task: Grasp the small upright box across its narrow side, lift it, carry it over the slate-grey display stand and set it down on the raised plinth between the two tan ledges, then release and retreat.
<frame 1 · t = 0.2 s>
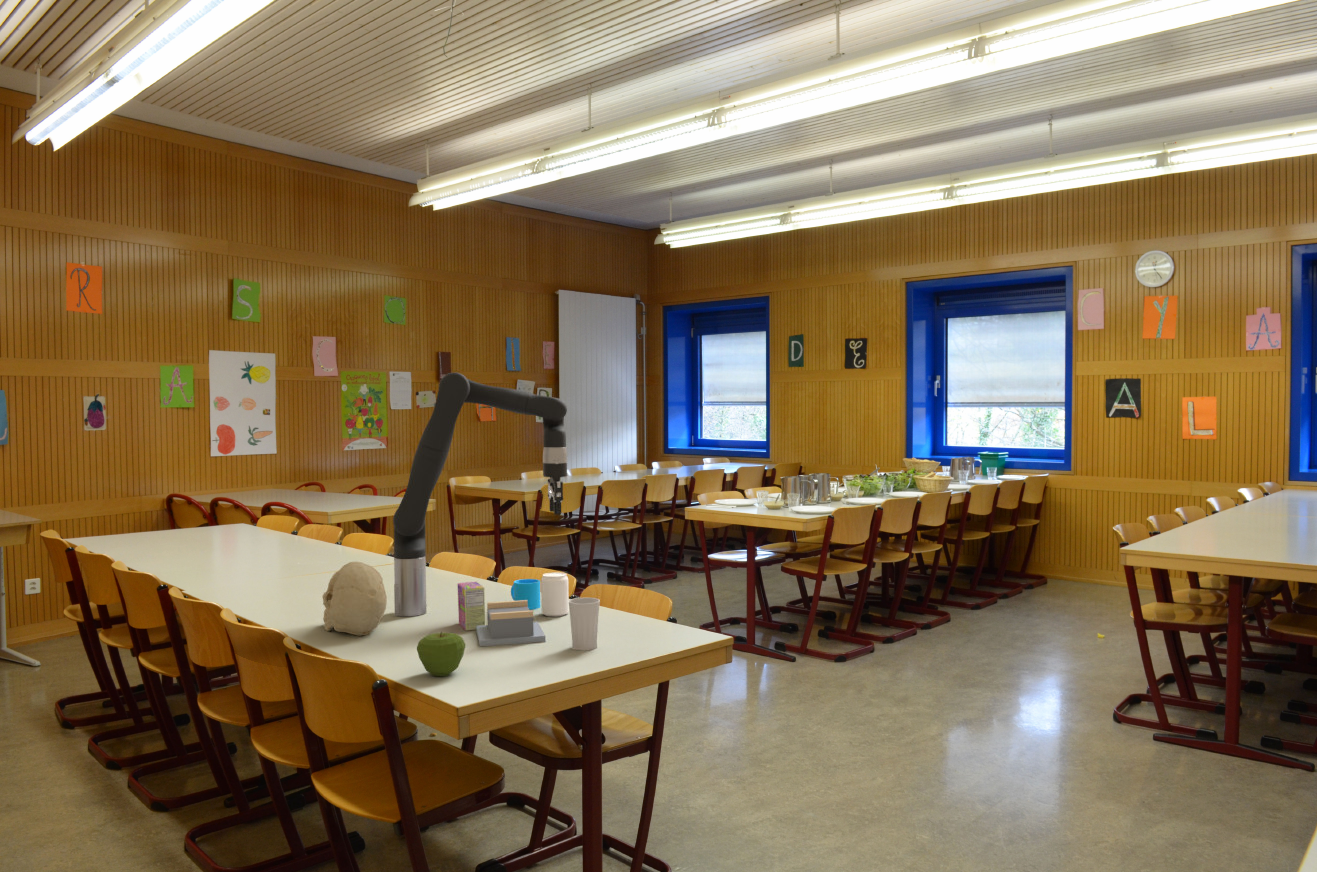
hand: (555, 512, 278), 29 cm above the table, fingers open, 8 cm apart
cup: (584, 647, 227), on the table
display stand: (510, 636, 239), on the table
box: (471, 626, 251), on the table
beverage can: (555, 614, 265), on the table
mug: (523, 607, 277), on the table
apple: (441, 674, 204), on the table
skull: (351, 631, 247), on the table
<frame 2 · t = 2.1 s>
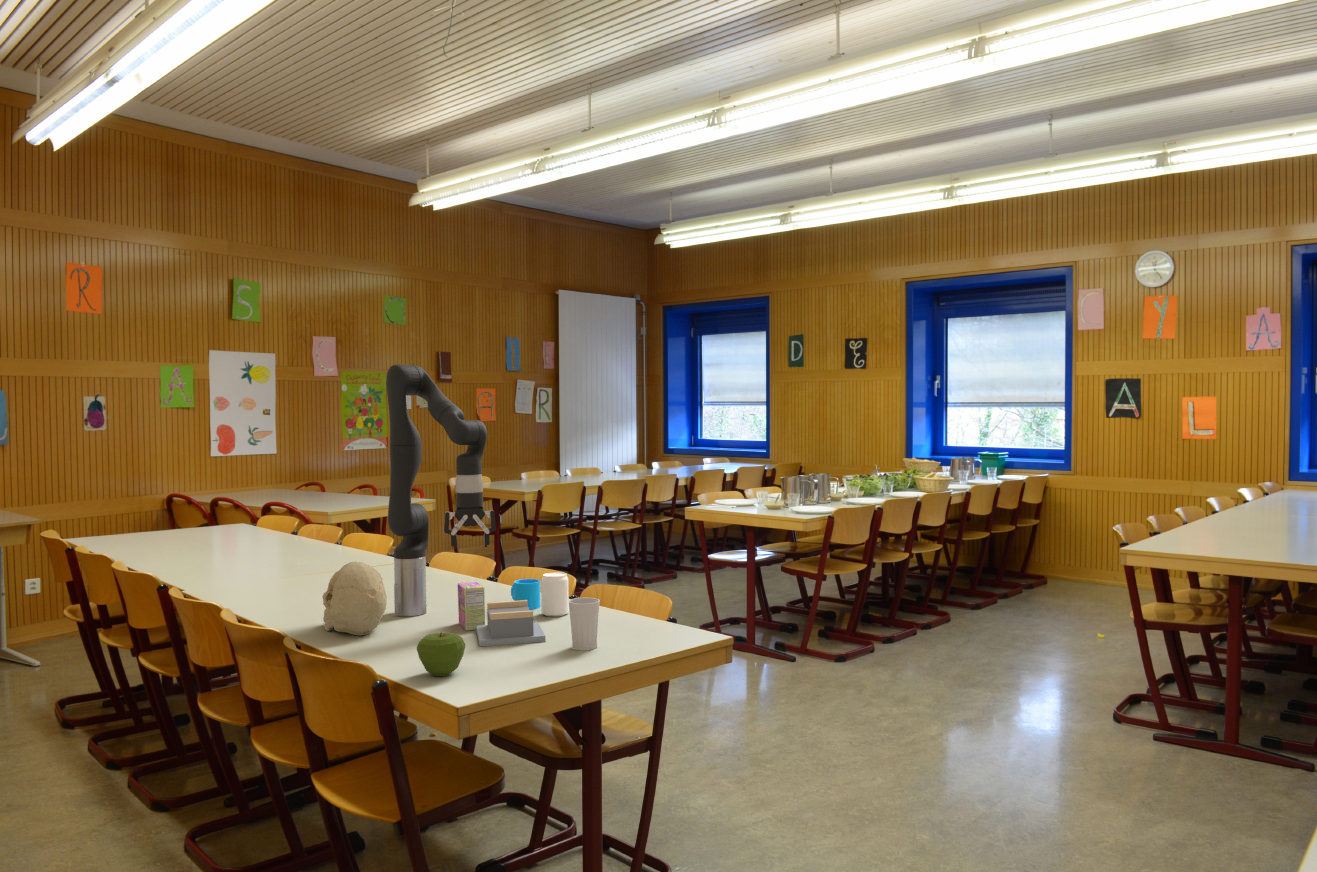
hand: (470, 547, 251), 22 cm above the table, fingers open, 8 cm apart
nothing on the table moved.
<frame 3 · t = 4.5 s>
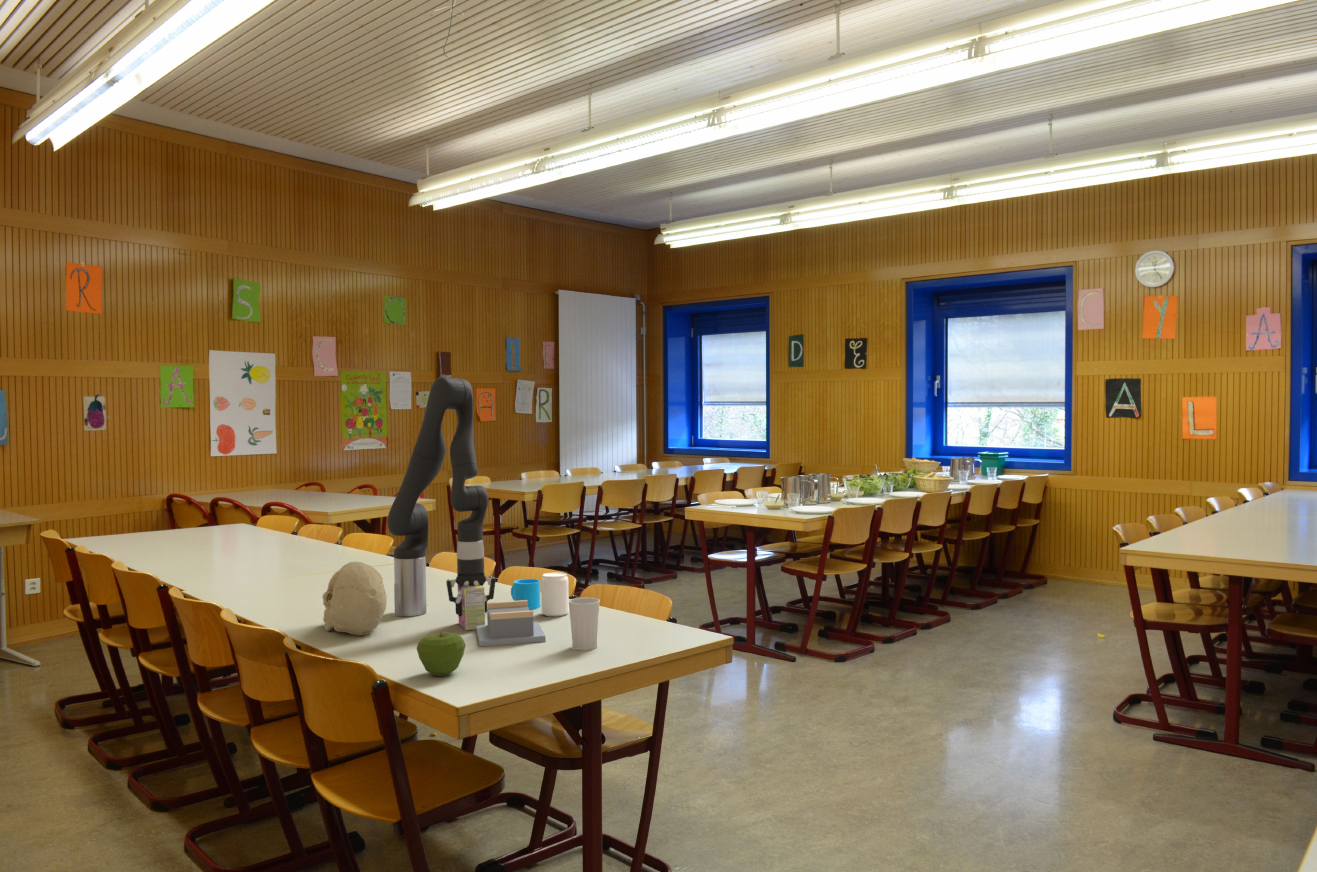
hand: (471, 614, 251), 3 cm above the table, fingers closed on box, 6 cm apart
box: (471, 626, 251), on the table, touching gripper
everything else where it was.
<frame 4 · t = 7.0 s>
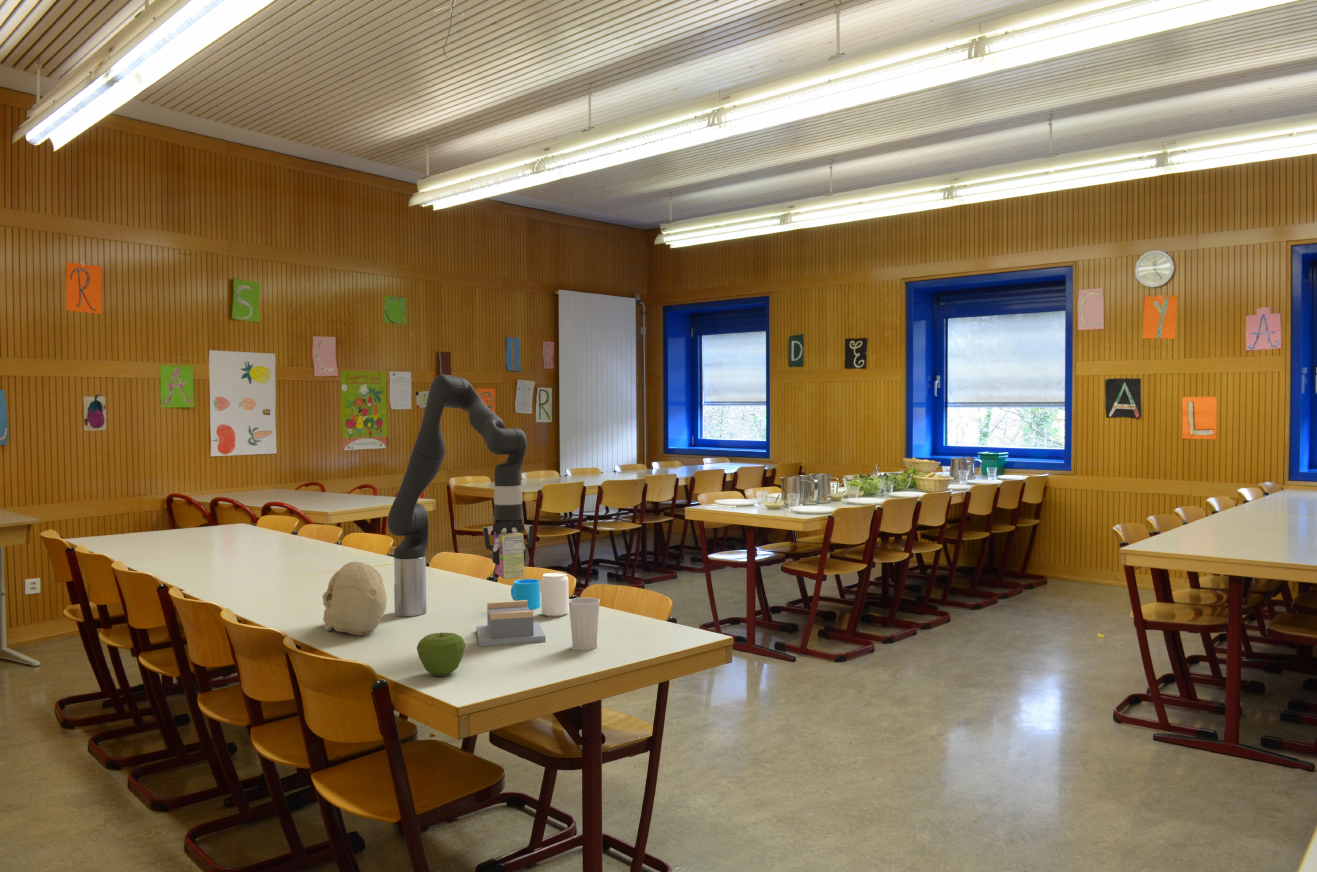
hand: (509, 563, 239), 20 cm above the table, fingers closed on box, 6 cm apart
box: (509, 576, 239), point 16 cm above the table, touching gripper
everything else where it was.
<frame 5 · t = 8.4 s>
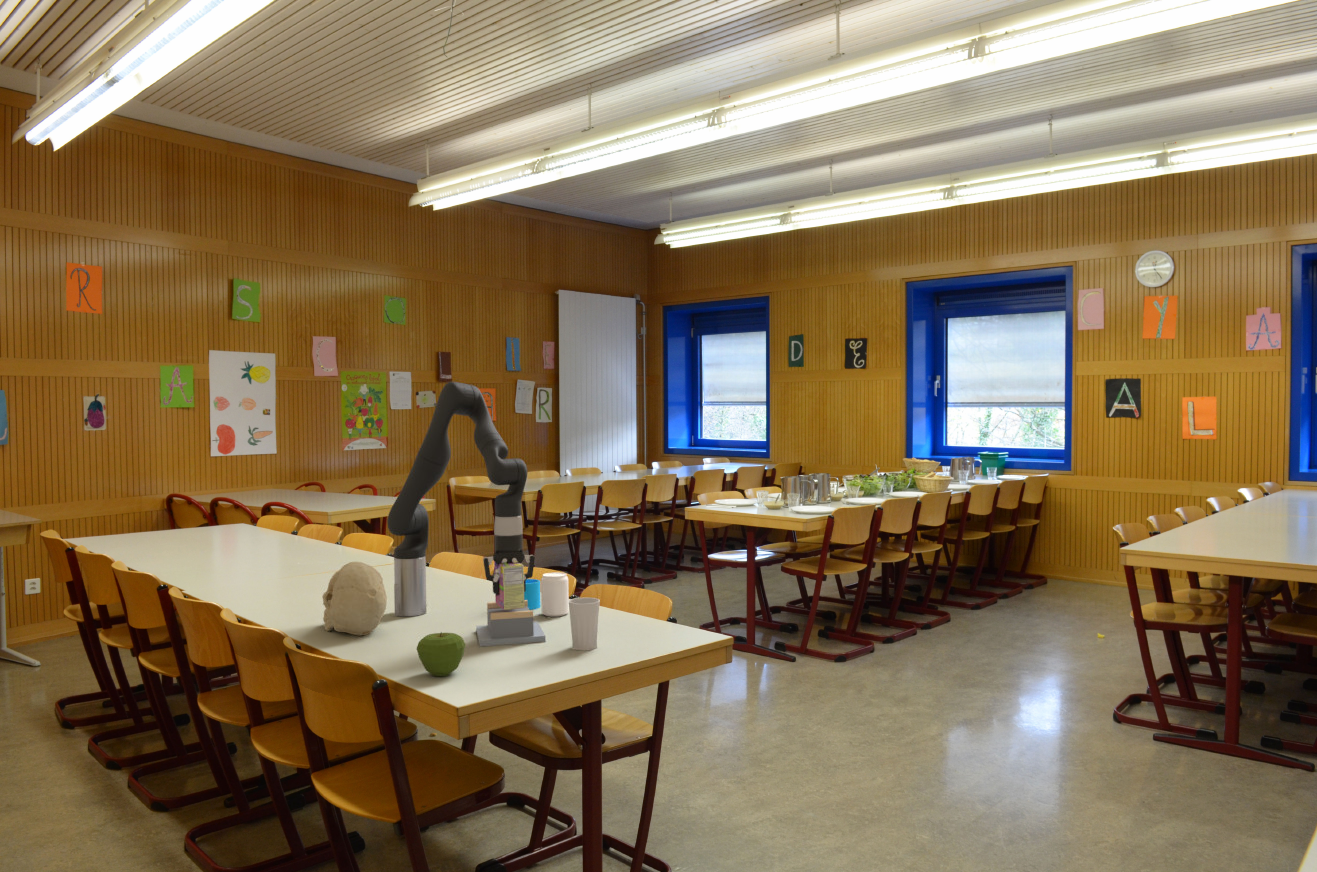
hand: (509, 594, 239), 11 cm above the table, fingers closed on box, 6 cm apart
box: (509, 606, 239), point 8 cm above the table, touching gripper
everything else where it was.
when the fingers open (11 cm above the table, at t = 9.5 s): box drops 1 cm, resting on display stand.
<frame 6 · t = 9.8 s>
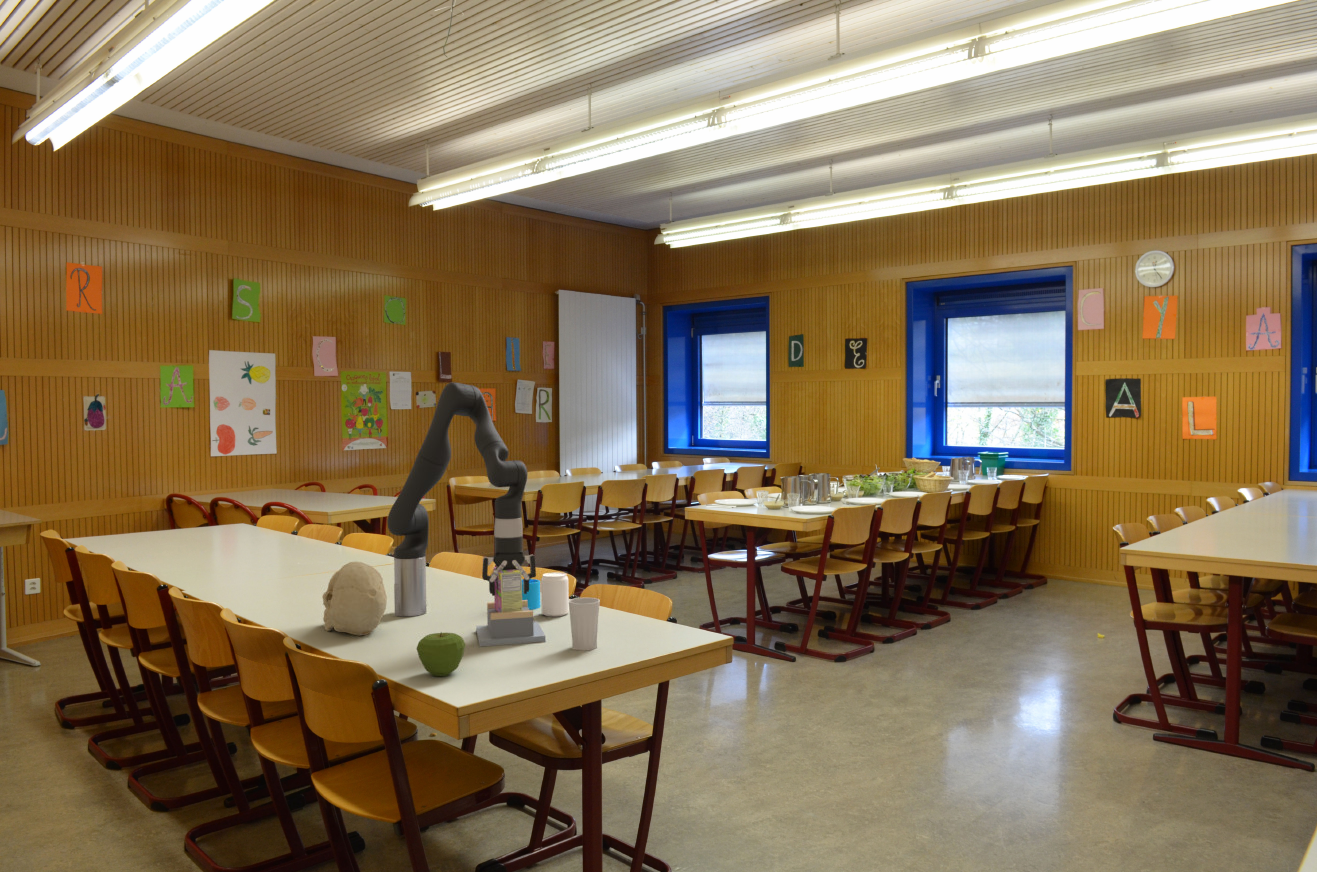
hand: (509, 594, 239), 11 cm above the table, fingers open, 8 cm apart
box: (508, 613, 239), point 6 cm above the table, touching display stand
everything else where it was.
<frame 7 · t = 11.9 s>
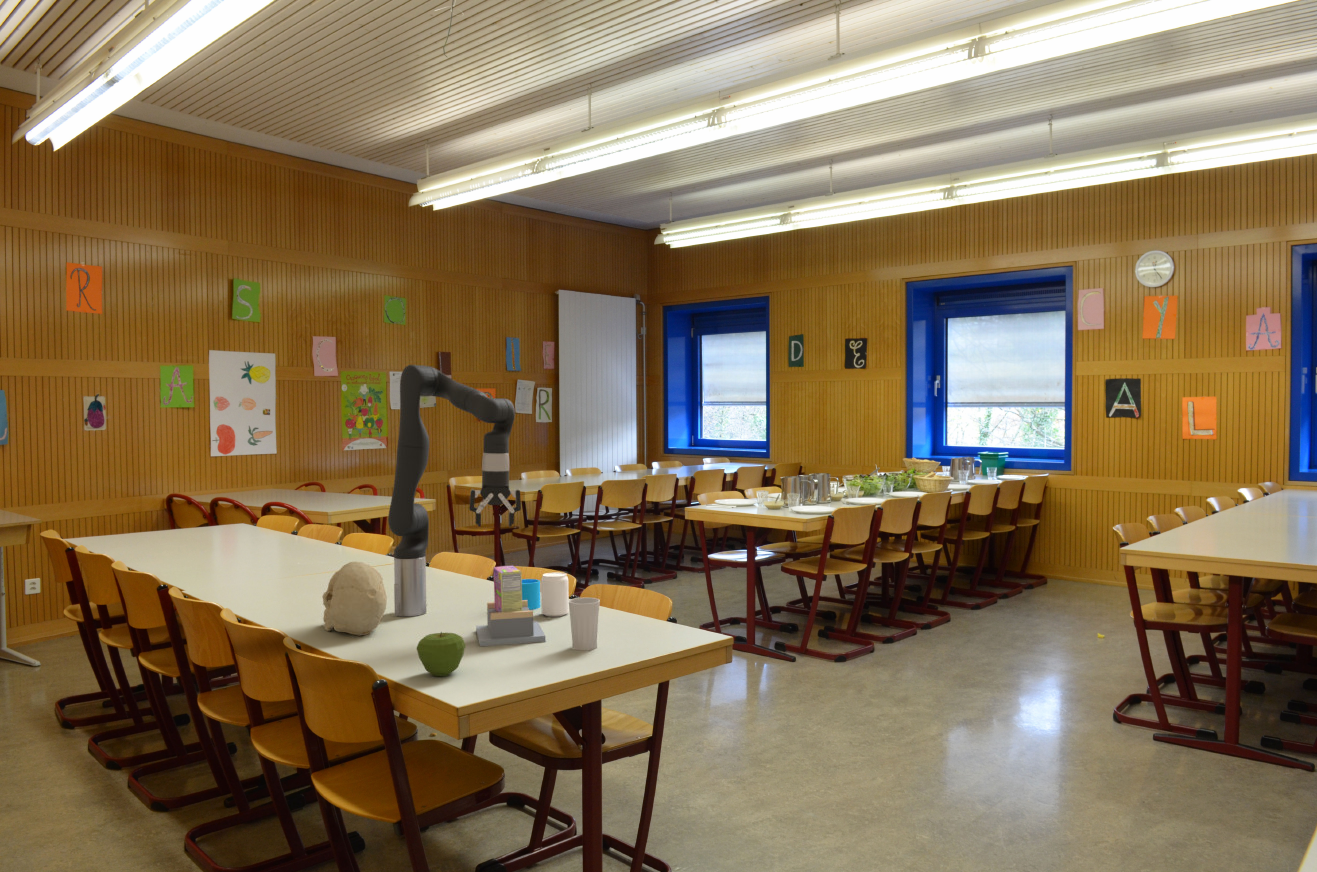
hand: (494, 526, 249), 29 cm above the table, fingers open, 8 cm apart
nothing on the table moved.
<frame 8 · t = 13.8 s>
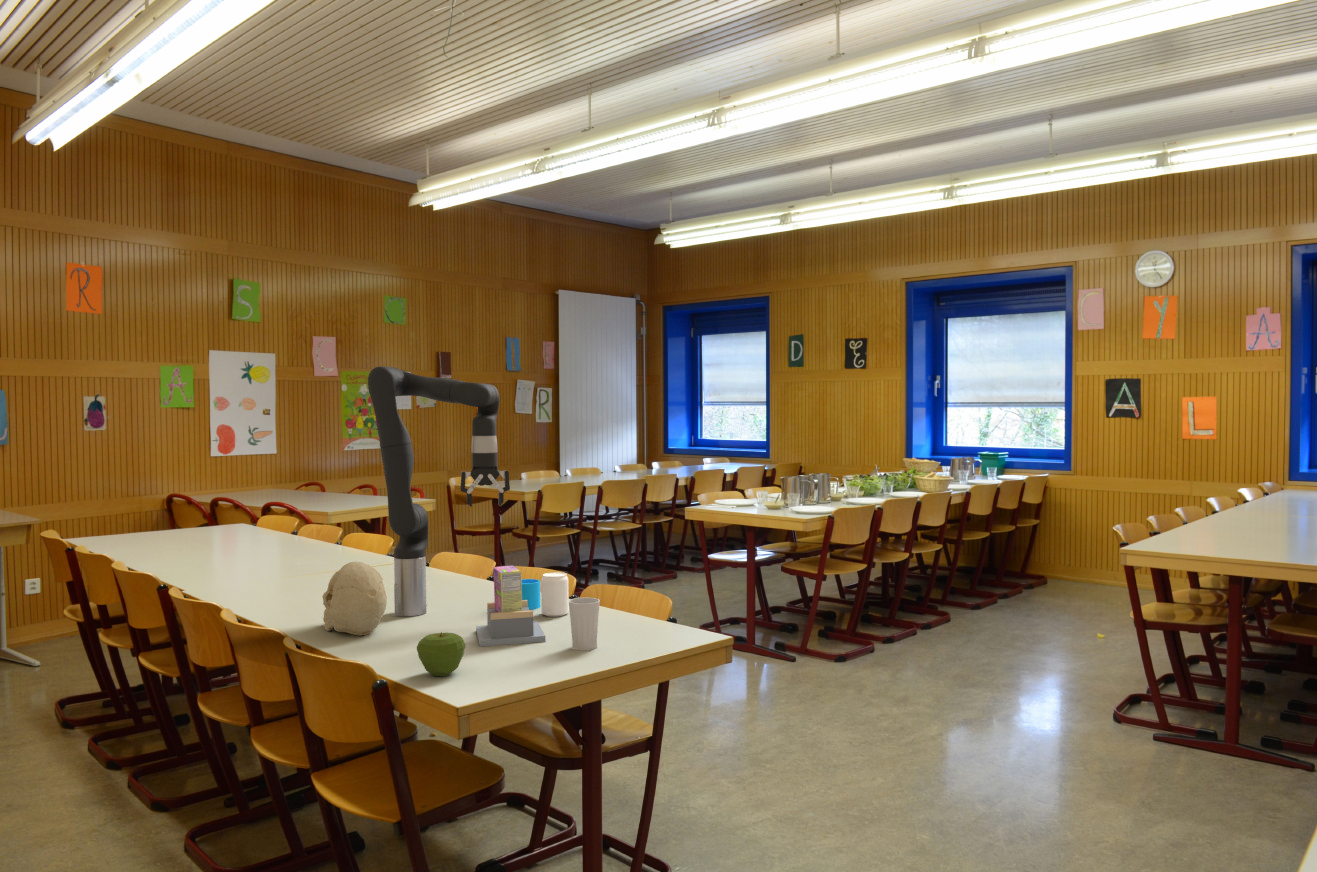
hand: (485, 505, 261), 33 cm above the table, fingers open, 8 cm apart
nothing on the table moved.
at the end: box inside the target area on the display stand (0.4 cm from its centre), point 6.3 cm above the display stand's base; box tilted 0°; the gripper is holding nothing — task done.
